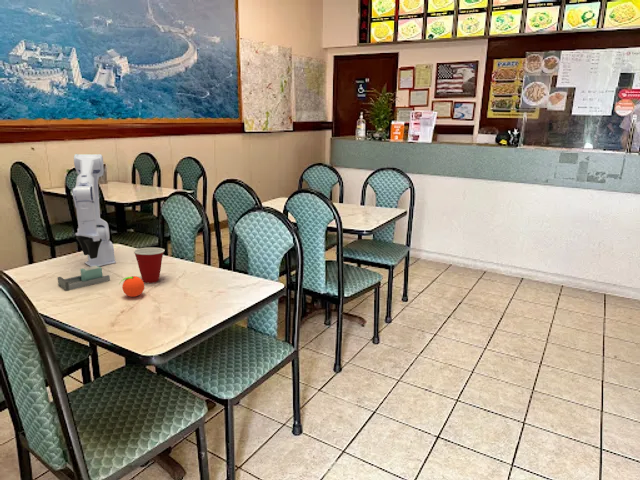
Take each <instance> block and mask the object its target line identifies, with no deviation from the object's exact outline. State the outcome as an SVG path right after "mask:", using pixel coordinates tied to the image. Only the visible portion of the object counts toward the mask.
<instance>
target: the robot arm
mask: <svg viewBox="0 0 640 480" xmlns="http://www.w3.org/2000/svg"><path fill="white" fill-rule="evenodd" d="M73 163H74V164H73V165H74V169H75V171H76V173H77V177H76V181H75V186H74V187H73V188H72V198H73V199H72V200H73V202H74V207H75V209H76V219H77V225H78V226H77V229H76V230H77V232H75V239H76V241H77V242H78V244H79V245H80V248H81V250H82V253H83V255H84V256H87V261H84V264H86V265H87V266H88V267H92V266H99V267H101V266H107V265H112V264H115V263H117V262H116V259H115V248H114V245H113V242H112V241H111V240H110V228H109V223H108V222H107V221H106V220H104V219H103V218H101V211H100V207H101V206H100V195H99V179H100V178H101V177H102V176H104V173H105V171H104V170H105V169H104V157H103V155H102V154H101V153H99V154H93V153H91V154H89V153H88V154H79V153H75V154H74V155H73Z"/></svg>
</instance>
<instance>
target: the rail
mask: <svg viewBox="0 0 640 480" xmlns="http://www.w3.org/2000/svg"><path fill="white" fill-rule="evenodd" d="M110 276H111V275H103V277H98V278H94V279H90V280H85V281H82V280H81V274H80V275H77V276H72V277H67V278H64V277H62V276H57V285H58V286H59V287H60V288H62V289H63V290H65V291H66V292H67V291H68V292H69V291H71V290H76V289H80V288H84V287H88V286H92V285H97V284H100V283H101V284H102V283H104V282H109V281H111V278H110Z"/></svg>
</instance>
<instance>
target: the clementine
mask: <svg viewBox="0 0 640 480" xmlns="http://www.w3.org/2000/svg"><path fill="white" fill-rule="evenodd" d="M121 282H123V283H122V285H121V287H122V290H123V293H124V294H125V295H126V296H128V297H132V298H135V297H138V296H140V295H141V294H142V293H143V292H144V290H145V282H143V280H142V277H141V278H140V277H138V276H127V277H124V278H123V279H121V281H120V282H119V283H118V285H120V283H121Z"/></svg>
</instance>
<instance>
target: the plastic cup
mask: <svg viewBox="0 0 640 480" xmlns="http://www.w3.org/2000/svg"><path fill="white" fill-rule="evenodd" d="M165 250H166V249H165V248H161V247H142V248H136V249H134V250H133V251H132V252H133V254H134V255H135V257H136V258H135V259H136V261H137V266H138V269H139V273H140V277H141V279H142V280H143V282H144V284H153V283H156V282H159V281H160V276H161V270H162V261H163V255H164V253H165Z"/></svg>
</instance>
